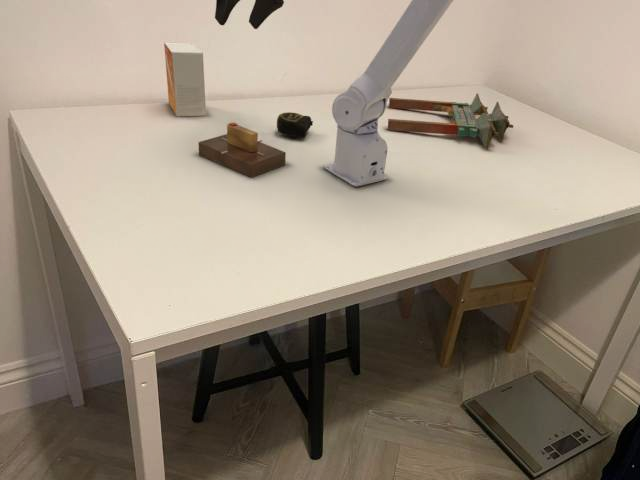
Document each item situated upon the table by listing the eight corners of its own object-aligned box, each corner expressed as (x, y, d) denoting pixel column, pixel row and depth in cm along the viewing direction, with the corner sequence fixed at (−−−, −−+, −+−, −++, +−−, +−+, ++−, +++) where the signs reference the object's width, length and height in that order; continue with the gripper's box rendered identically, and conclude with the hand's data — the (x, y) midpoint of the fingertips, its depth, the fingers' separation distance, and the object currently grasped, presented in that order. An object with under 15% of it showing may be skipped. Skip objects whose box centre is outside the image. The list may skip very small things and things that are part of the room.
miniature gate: (390, 87, 146) (504, 95, 147) (388, 108, 149) (500, 116, 150) (388, 118, 124) (522, 128, 124) (386, 142, 127) (517, 152, 127)
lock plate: (287, 164, 105) (287, 150, 104) (249, 178, 98) (249, 164, 96) (236, 143, 110) (236, 130, 109) (196, 155, 103) (195, 141, 101)
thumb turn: (257, 150, 102) (257, 131, 100) (251, 152, 101) (251, 133, 99) (233, 141, 104) (233, 121, 102) (227, 142, 103) (226, 123, 101)
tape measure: (304, 142, 116) (305, 124, 114) (272, 136, 116) (272, 118, 114) (312, 132, 121) (313, 115, 119) (281, 126, 122) (282, 109, 119)
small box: (168, 104, 123) (163, 41, 116) (197, 104, 126) (194, 42, 119) (175, 116, 118) (171, 51, 110) (206, 116, 120) (203, 52, 113)
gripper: (285, -54, 100) (255, 12, 108) (217, -72, 89) (190, 3, 98) (307, -27, 98) (275, 38, 107) (241, -43, 88) (211, 31, 96)
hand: (236, 23), depth 102 cm, fingers open, 7 cm apart
